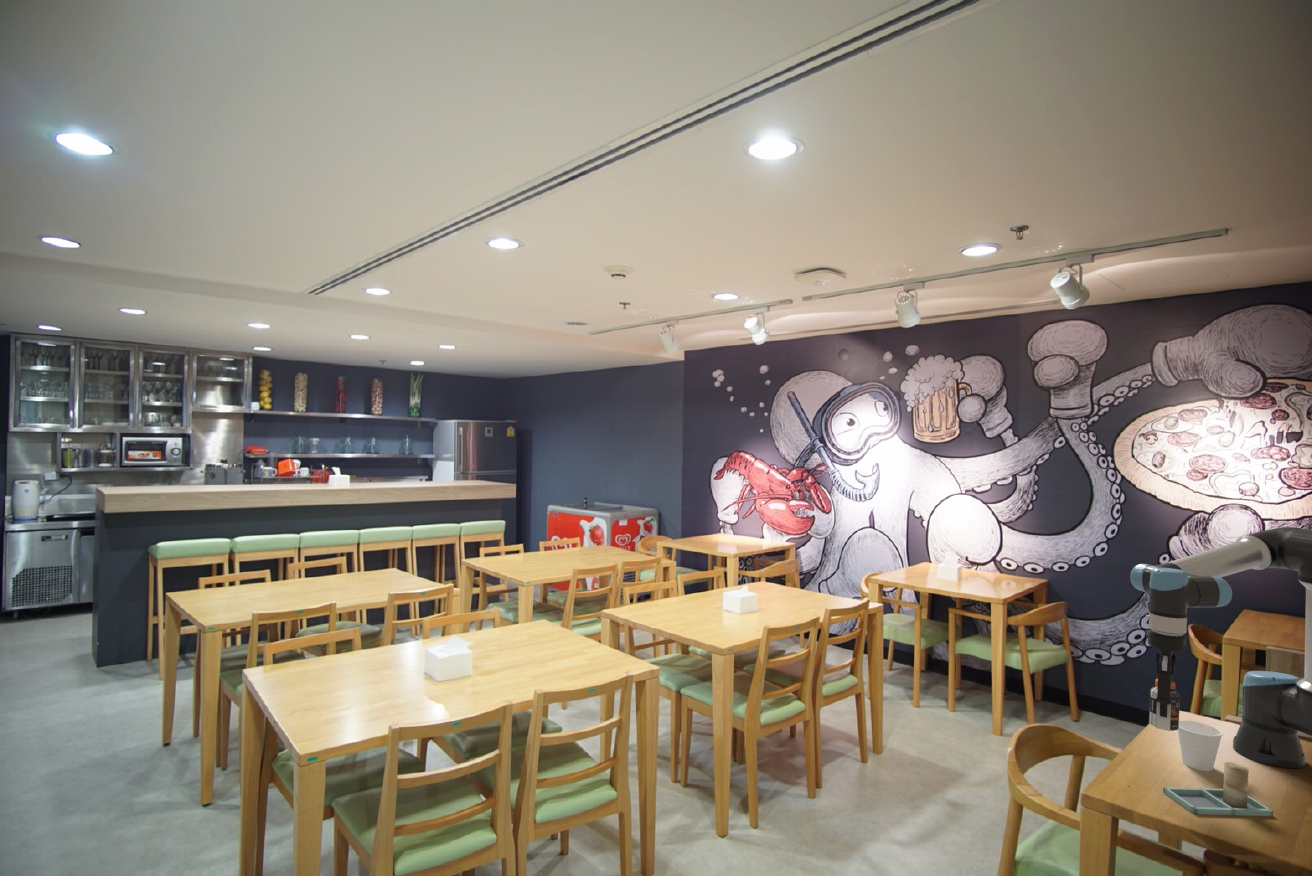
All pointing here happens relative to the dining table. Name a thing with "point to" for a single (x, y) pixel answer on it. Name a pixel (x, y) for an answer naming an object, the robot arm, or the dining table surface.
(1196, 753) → the cup
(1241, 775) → the beech dowel
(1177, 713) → the pill bottle
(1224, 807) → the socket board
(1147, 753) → the dining table surface
